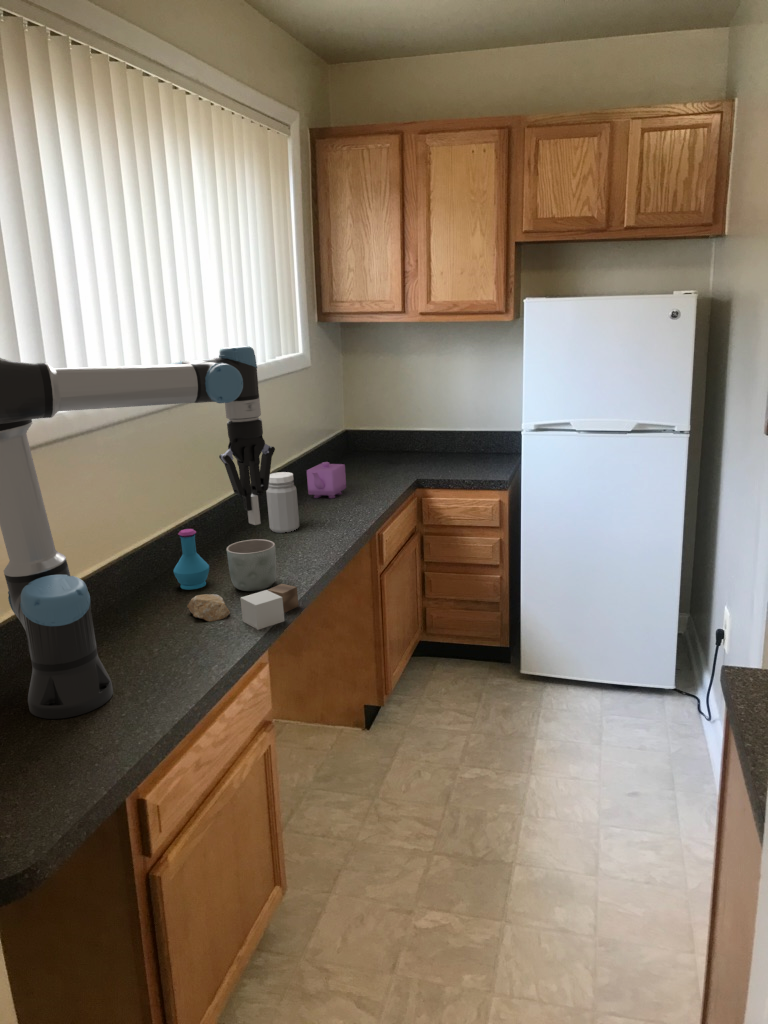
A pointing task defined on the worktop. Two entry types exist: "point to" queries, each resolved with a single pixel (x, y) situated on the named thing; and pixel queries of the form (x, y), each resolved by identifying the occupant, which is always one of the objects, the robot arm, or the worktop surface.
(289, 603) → the walnut block
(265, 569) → the planter
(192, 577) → the perfume bottle
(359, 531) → the worktop surface
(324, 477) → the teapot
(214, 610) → the stone
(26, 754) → the worktop surface
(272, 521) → the jar
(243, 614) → the block
